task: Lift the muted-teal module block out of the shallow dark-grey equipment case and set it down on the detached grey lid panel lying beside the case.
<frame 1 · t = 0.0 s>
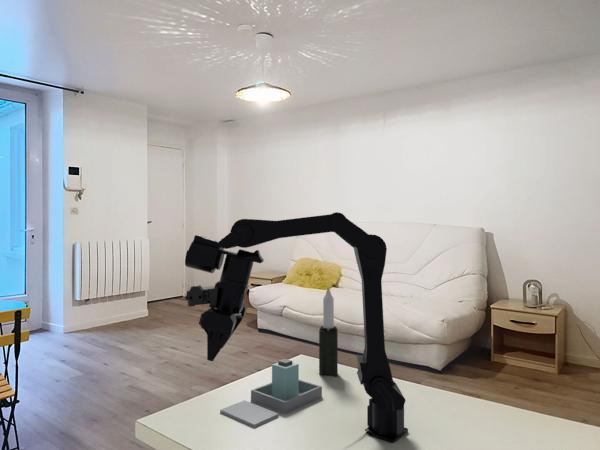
hand: (215, 353, 86), 15 cm above the table, tool pointing down, fingers open, 9 cm apart
module: (285, 397, 102), point 1 cm above the table, touching case
lid panel: (249, 417, 92), on the table
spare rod: (297, 402, 99), point 1 cm above the table, touching case
candle: (328, 375, 120), on the table
case: (286, 400, 101), on the table
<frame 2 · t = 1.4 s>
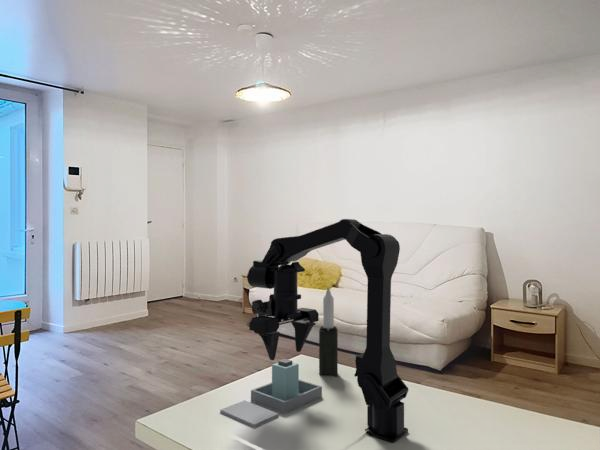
hand: (285, 355, 102), 11 cm above the table, tool pointing down, fingers open, 9 cm apart
nothing on the table moved.
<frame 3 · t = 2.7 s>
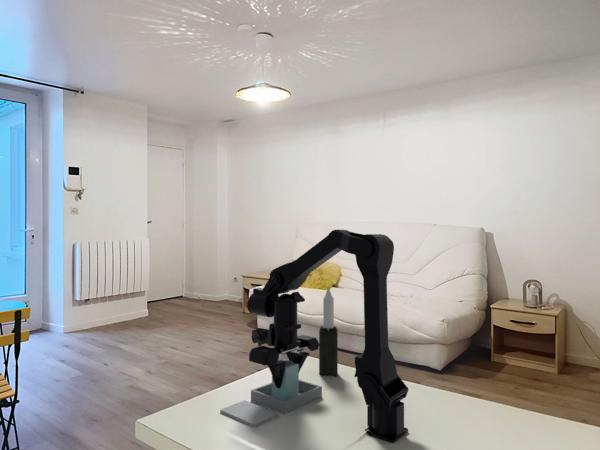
hand: (285, 385, 102), 4 cm above the table, tool pointing down, fingers closed on module, 4 cm apart
module: (285, 397, 102), point 1 cm above the table, touching case, gripper
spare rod: (297, 402, 99), point 1 cm above the table, tilted 14°, touching case
everything else where it was.
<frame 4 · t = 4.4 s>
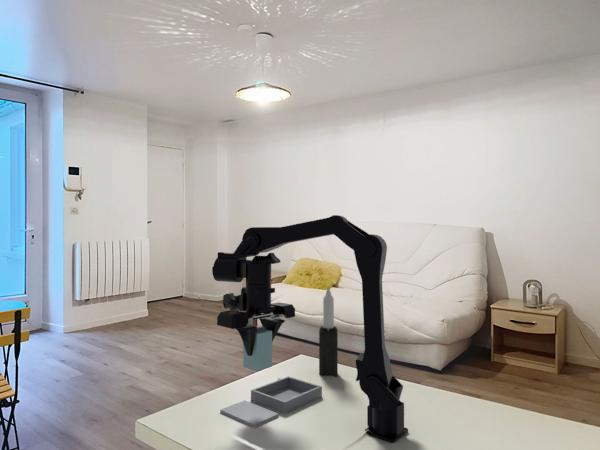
hand: (257, 353, 95), 13 cm above the table, tool pointing down, fingers closed on module, 4 cm apart
module: (257, 366, 95), point 10 cm above the table, touching gripper
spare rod: (297, 401, 99), point 1 cm above the table, tilted 30°, touching case
everything else where it was.
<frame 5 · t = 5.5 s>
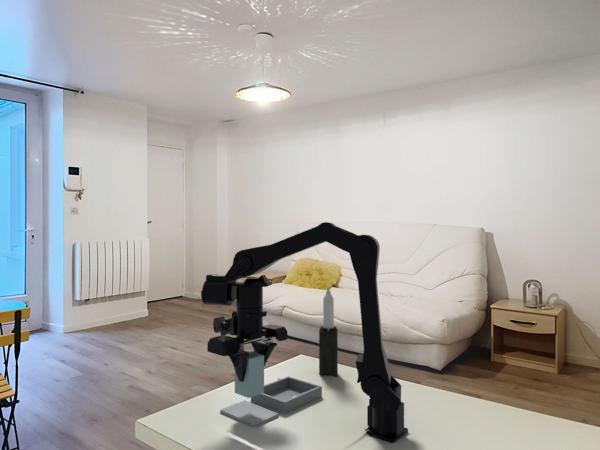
hand: (249, 378, 92), 8 cm above the table, tool pointing down, fingers closed on module, 4 cm apart
module: (249, 392, 92), point 5 cm above the table, touching gripper
everything else where it was.
when the fingers open (5 cm above the table, at t = 6.4 s): module stays where it is, resting on lid panel.
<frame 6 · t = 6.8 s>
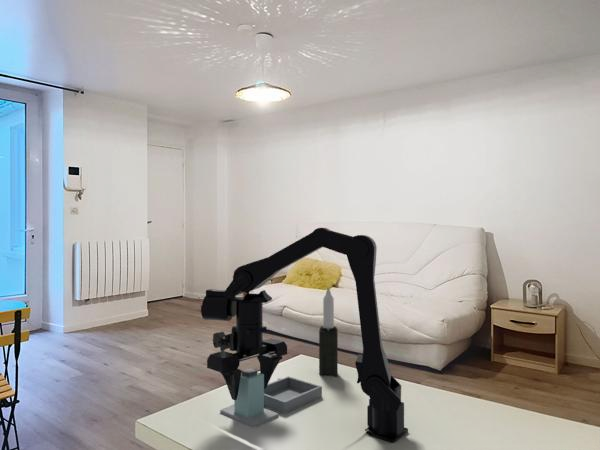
hand: (249, 394, 92), 5 cm above the table, tool pointing down, fingers open, 8 cm apart
module: (249, 411, 92), point 1 cm above the table, touching lid panel
everything else where it was.
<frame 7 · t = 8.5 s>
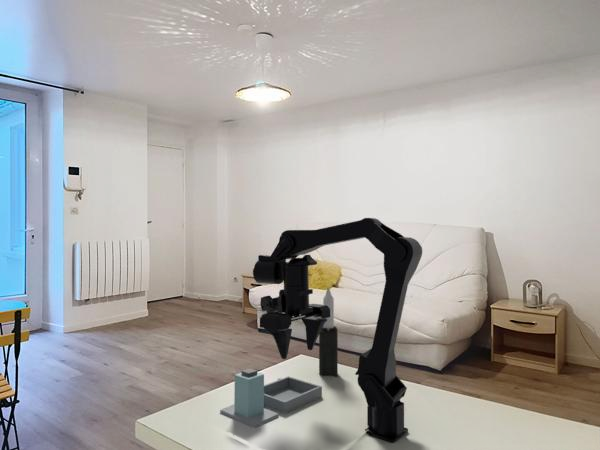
hand: (297, 354, 96), 13 cm above the table, tool pointing down, fingers open, 9 cm apart
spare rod: (297, 402, 99), point 1 cm above the table, tilted 12°, touching case
everything else where it was.
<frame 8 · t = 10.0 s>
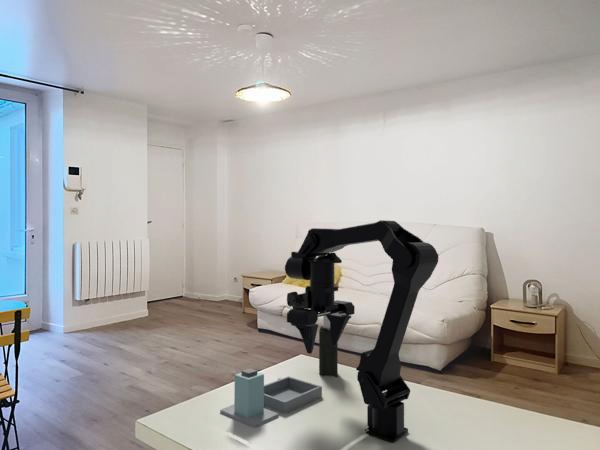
hand: (322, 349, 99), 13 cm above the table, tool pointing down, fingers open, 9 cm apart
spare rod: (297, 402, 99), point 1 cm above the table, touching case
everything else where it was.
at the end: module inside the target area on the lid panel (0.1 cm from its centre), point 1.2 cm above the lid panel's base; module tilted 0°; the gripper is holding nothing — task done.
